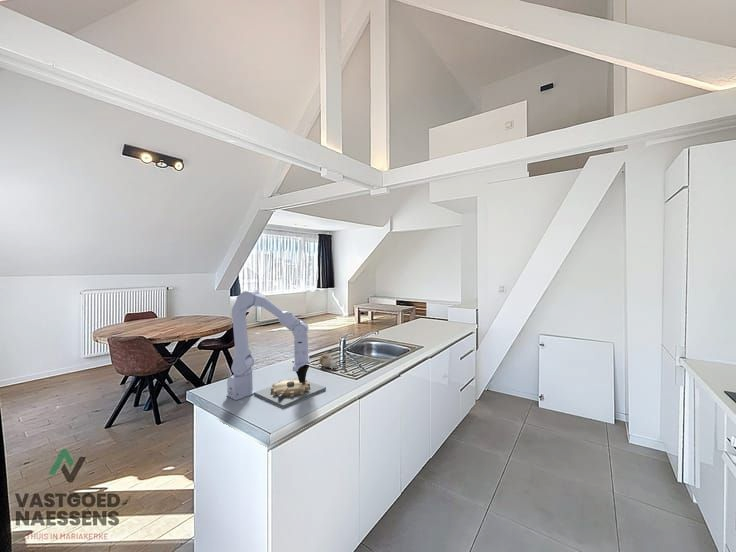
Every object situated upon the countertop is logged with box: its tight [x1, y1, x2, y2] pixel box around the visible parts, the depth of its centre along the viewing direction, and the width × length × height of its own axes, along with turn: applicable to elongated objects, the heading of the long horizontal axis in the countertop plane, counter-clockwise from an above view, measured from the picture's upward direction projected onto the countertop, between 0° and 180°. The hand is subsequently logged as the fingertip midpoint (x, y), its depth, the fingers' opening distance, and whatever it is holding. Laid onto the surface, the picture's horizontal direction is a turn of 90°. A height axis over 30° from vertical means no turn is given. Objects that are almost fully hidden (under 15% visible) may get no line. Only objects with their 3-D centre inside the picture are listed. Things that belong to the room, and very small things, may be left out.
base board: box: [253, 377, 327, 409], centre depth 131 cm, size 22×20×3 cm
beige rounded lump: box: [318, 352, 340, 370], centre depth 165 cm, size 8×10×10 cm
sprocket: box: [270, 377, 311, 397], centre depth 131 cm, size 16×16×5 cm
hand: (302, 382), depth 131 cm, fingers closed
